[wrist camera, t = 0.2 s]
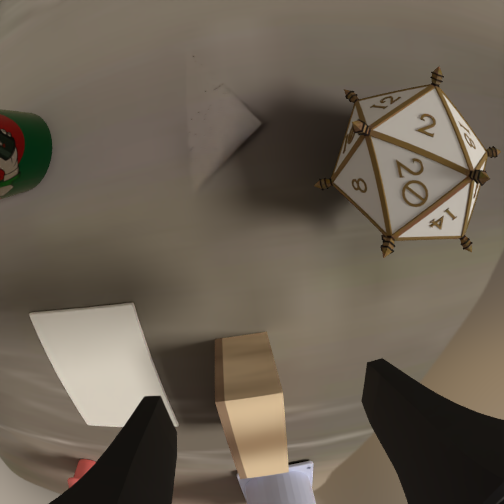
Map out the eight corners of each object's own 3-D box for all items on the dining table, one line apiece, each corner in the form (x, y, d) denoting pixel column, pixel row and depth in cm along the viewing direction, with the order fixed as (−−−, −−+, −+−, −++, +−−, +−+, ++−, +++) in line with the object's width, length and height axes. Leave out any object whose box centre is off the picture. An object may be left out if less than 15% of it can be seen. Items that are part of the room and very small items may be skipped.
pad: (178, 423, 22) (178, 426, 22) (88, 422, 22) (87, 425, 21) (133, 302, 18) (132, 304, 18) (30, 312, 18) (28, 314, 18)
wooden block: (276, 415, 23) (288, 472, 17) (234, 421, 23) (240, 479, 17) (266, 331, 20) (282, 392, 14) (214, 338, 20) (215, 402, 14)
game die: (415, 230, 19) (523, 288, 9) (298, 232, 18) (375, 317, 9) (420, 100, 16) (539, 89, 7) (298, 81, 15) (384, 15, 6)
